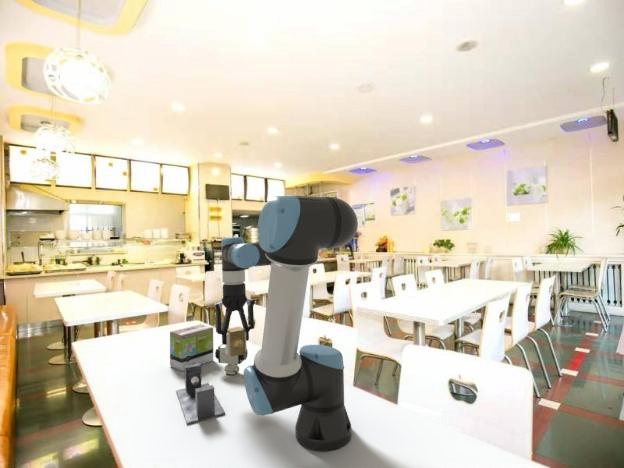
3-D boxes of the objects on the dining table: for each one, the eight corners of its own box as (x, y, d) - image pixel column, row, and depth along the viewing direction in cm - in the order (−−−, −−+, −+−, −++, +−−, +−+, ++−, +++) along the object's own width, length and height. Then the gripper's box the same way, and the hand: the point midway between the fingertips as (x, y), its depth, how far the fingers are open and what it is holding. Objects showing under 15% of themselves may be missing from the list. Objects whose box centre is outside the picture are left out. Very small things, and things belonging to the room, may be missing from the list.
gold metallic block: (246, 355, 114) (246, 330, 114) (231, 358, 111) (231, 333, 111) (239, 348, 121) (239, 325, 121) (225, 351, 118) (224, 327, 118)
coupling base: (225, 414, 104) (224, 386, 104) (187, 424, 99) (186, 395, 99) (208, 384, 125) (207, 361, 125) (176, 391, 120) (175, 367, 120)
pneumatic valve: (243, 376, 132) (242, 345, 132) (215, 374, 134) (214, 344, 134) (249, 370, 137) (248, 340, 137) (221, 369, 140) (221, 339, 140)
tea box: (183, 372, 138) (182, 335, 138) (169, 366, 144) (168, 331, 144) (214, 360, 150) (213, 326, 150) (200, 355, 156) (199, 323, 156)
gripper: (255, 279, 124) (257, 344, 124) (204, 284, 115) (206, 354, 115) (263, 281, 117) (265, 350, 117) (208, 286, 109) (211, 360, 108)
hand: (236, 352), depth 116 cm, fingers closed on gold metallic block, 5 cm apart
